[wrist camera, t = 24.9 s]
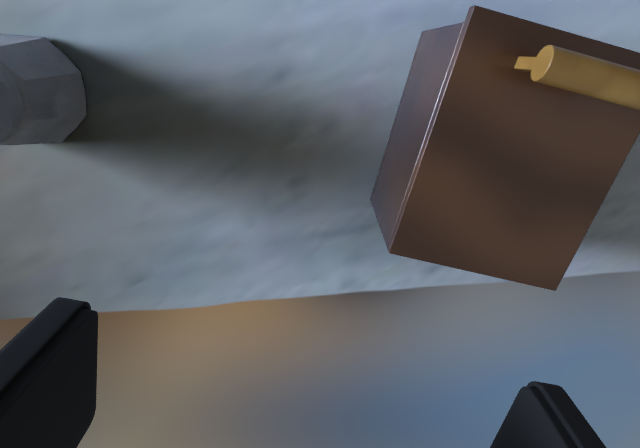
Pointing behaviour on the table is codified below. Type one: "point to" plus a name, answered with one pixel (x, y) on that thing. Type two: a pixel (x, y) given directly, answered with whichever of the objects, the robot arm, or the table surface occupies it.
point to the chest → (412, 122)
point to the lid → (519, 150)
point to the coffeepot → (38, 92)
